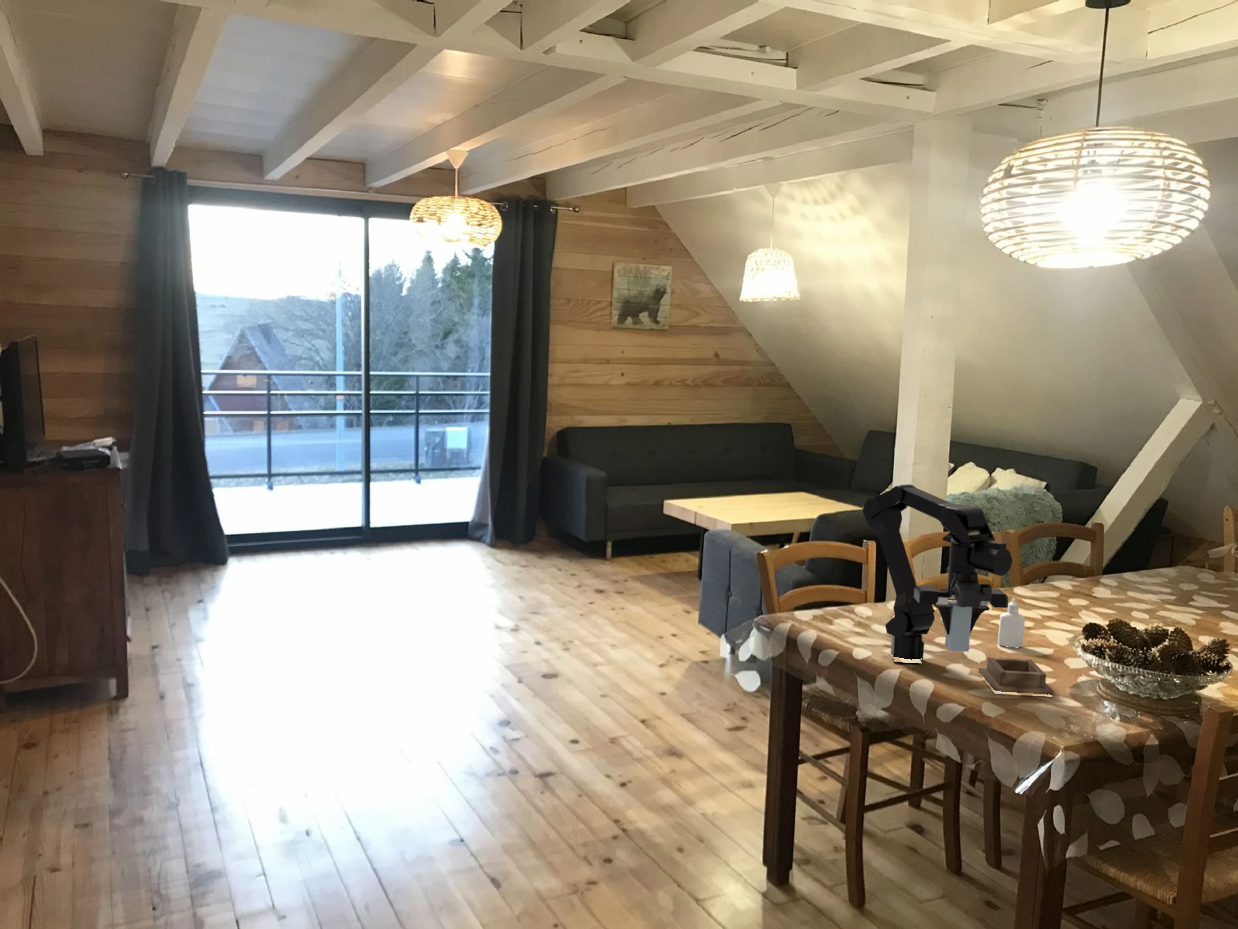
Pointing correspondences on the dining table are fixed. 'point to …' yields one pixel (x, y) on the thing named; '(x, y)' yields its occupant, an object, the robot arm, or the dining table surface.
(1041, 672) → the walnut holder
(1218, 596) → the dining table surface
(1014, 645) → the eye dropper bottle
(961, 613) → the slate peg
